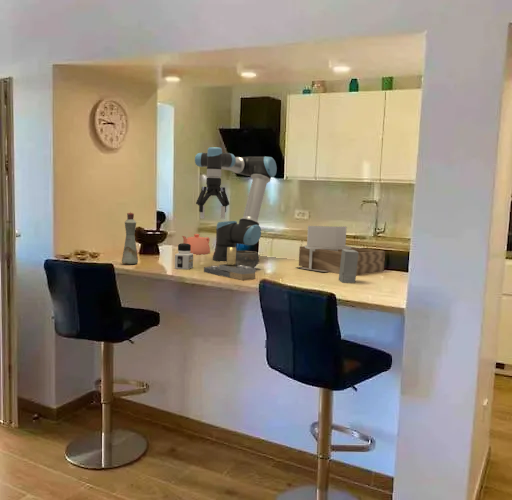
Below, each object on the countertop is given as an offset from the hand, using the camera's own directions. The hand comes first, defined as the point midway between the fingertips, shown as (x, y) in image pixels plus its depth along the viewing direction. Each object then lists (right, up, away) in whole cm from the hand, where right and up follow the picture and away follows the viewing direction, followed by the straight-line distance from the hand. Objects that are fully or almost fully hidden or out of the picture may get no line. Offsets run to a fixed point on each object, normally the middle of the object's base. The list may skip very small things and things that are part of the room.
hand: (212, 218), depth 299 cm
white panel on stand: (+61, -27, +20) cm, 69 cm away
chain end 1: (+6, -28, -12) cm, 32 cm away
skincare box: (+66, -32, -24) cm, 78 cm away
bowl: (+17, -27, +4) cm, 32 cm away
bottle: (-46, -24, +13) cm, 54 cm away
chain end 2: (+13, -30, -20) cm, 38 cm away
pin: (+10, -29, -17) cm, 35 cm away
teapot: (-16, -20, +65) cm, 69 cm away
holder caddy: (+70, -28, +19) cm, 77 cm away
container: (-15, -26, +4) cm, 31 cm away
